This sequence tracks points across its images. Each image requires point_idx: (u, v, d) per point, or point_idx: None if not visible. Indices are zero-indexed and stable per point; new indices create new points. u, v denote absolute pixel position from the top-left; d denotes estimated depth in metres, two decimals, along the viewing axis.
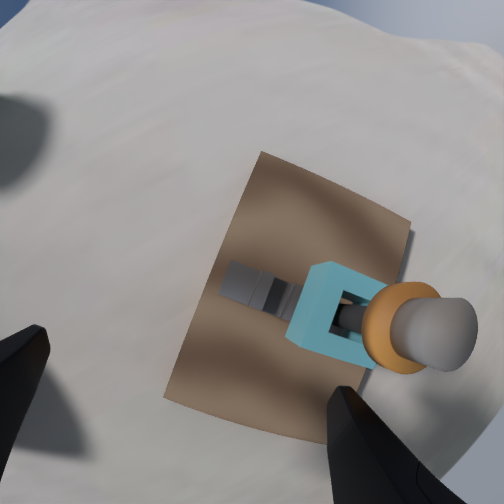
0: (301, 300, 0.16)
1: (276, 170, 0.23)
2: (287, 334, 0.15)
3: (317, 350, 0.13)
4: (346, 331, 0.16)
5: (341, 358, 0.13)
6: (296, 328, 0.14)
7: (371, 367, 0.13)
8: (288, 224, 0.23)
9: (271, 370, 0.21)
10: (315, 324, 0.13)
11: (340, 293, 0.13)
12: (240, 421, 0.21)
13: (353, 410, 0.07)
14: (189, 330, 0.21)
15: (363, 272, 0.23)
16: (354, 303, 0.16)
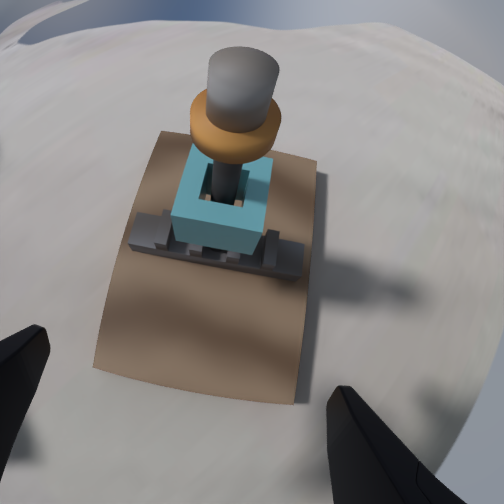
0: None
1: (175, 142, 0.25)
2: None
3: (189, 216, 0.13)
4: None
5: (219, 222, 0.13)
6: None
7: (258, 230, 0.13)
8: None
9: (197, 319, 0.20)
10: (183, 193, 0.13)
11: (205, 165, 0.14)
12: (176, 385, 0.19)
13: (353, 410, 0.07)
14: (109, 290, 0.20)
15: (274, 209, 0.24)
16: (242, 199, 0.17)
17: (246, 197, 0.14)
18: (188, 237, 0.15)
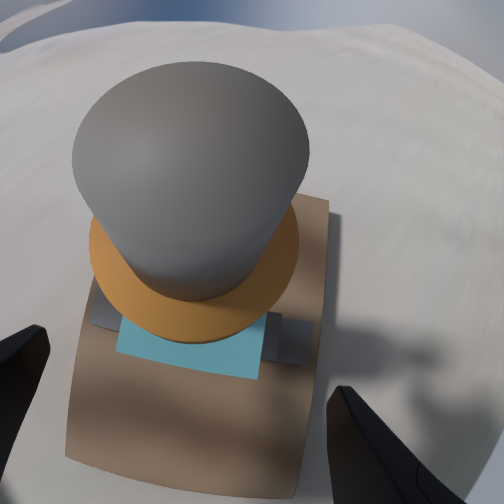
0: None
1: None
2: None
3: (144, 355, 0.08)
4: None
5: (189, 365, 0.08)
6: None
7: (251, 376, 0.08)
8: None
9: (179, 414, 0.15)
10: None
11: None
12: (159, 482, 0.13)
13: (353, 410, 0.07)
14: (74, 374, 0.15)
15: None
16: None
17: None
18: None
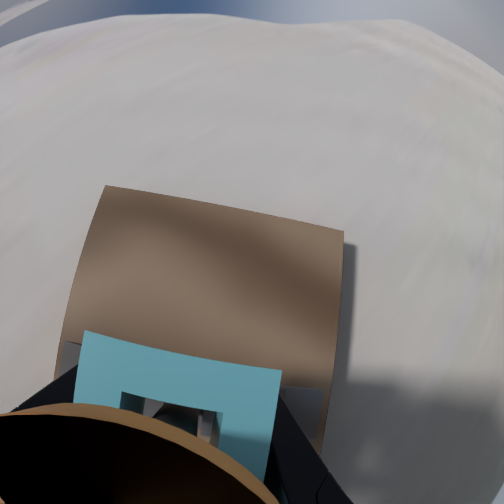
0: None
1: (124, 206, 0.16)
2: None
3: None
4: None
5: None
6: None
7: None
8: (146, 276, 0.15)
9: None
10: None
11: (116, 399, 0.05)
12: None
13: None
14: None
15: (278, 324, 0.15)
16: None
17: None
18: None
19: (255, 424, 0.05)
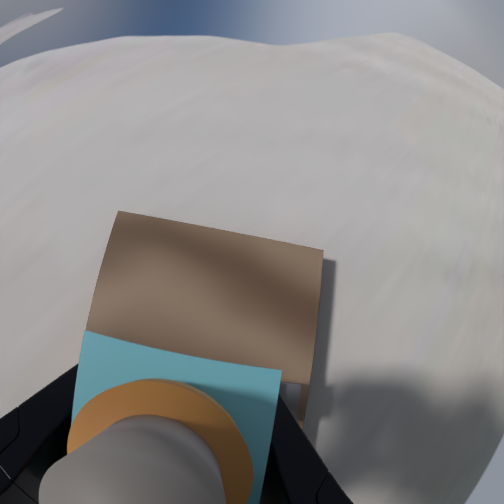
0: None
1: (135, 229, 0.19)
2: None
3: None
4: None
5: None
6: None
7: None
8: (156, 290, 0.18)
9: None
10: None
11: None
12: None
13: None
14: None
15: (265, 330, 0.18)
16: None
17: None
18: None
19: (255, 424, 0.05)
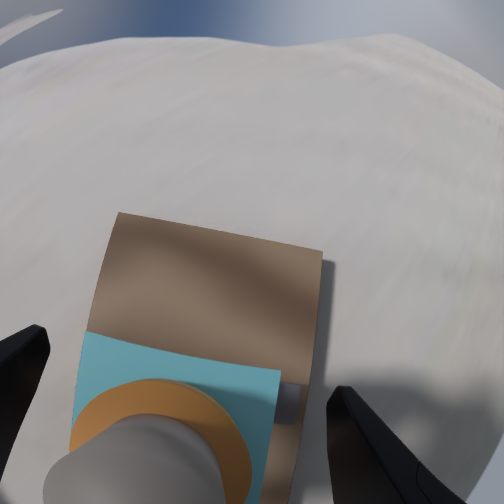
0: None
1: (135, 231, 0.19)
2: None
3: None
4: None
5: None
6: None
7: None
8: (156, 291, 0.18)
9: None
10: None
11: None
12: None
13: (353, 410, 0.07)
14: None
15: (265, 331, 0.18)
16: None
17: None
18: None
19: (254, 424, 0.05)
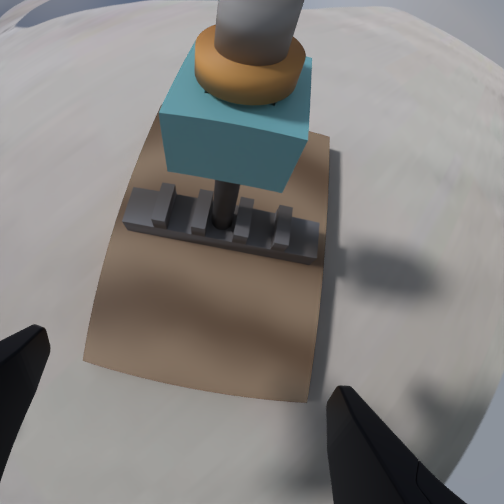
0: None
1: None
2: None
3: (189, 113, 0.07)
4: None
5: (237, 122, 0.08)
6: None
7: (301, 136, 0.08)
8: None
9: (199, 307, 0.18)
10: (181, 87, 0.08)
11: None
12: (175, 381, 0.17)
13: (353, 410, 0.07)
14: (101, 274, 0.18)
15: (285, 186, 0.22)
16: None
17: None
18: (185, 162, 0.09)
19: (300, 73, 0.09)
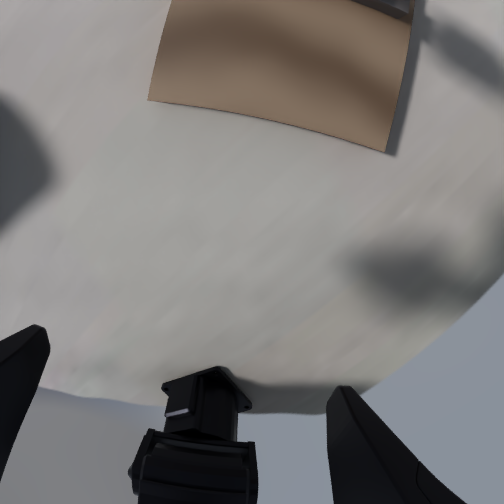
0: None
1: None
2: None
3: None
4: None
5: None
6: None
7: None
8: None
9: (282, 37, 0.14)
10: None
11: None
12: (252, 111, 0.16)
13: (353, 410, 0.07)
14: (170, 12, 0.13)
15: None
16: None
17: None
18: None
19: None
